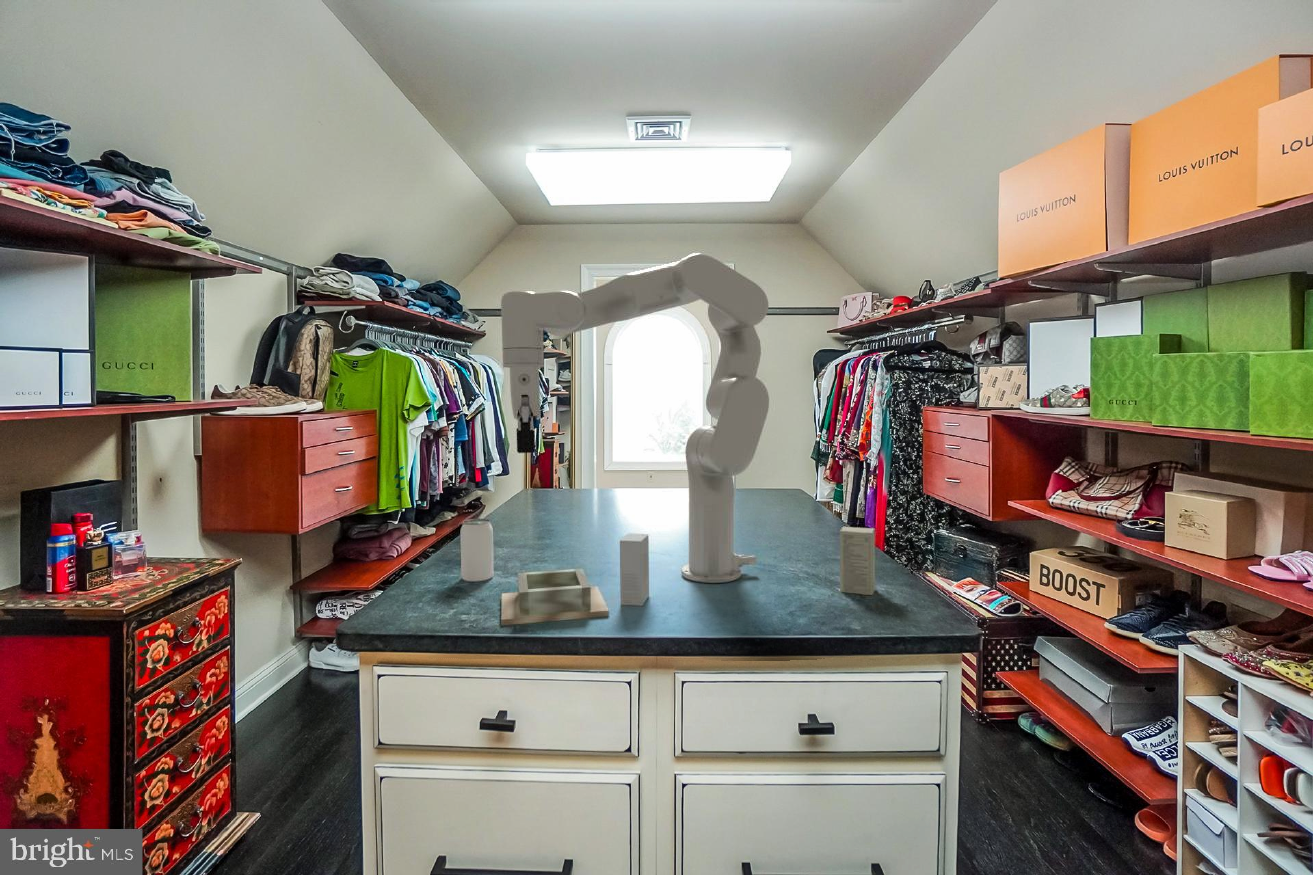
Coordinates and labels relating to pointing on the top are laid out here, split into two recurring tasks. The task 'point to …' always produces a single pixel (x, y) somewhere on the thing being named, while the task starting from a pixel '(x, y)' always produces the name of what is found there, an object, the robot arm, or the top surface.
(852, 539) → the skincare box
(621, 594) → the skincare box
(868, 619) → the top surface
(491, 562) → the can
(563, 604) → the bottle stand
